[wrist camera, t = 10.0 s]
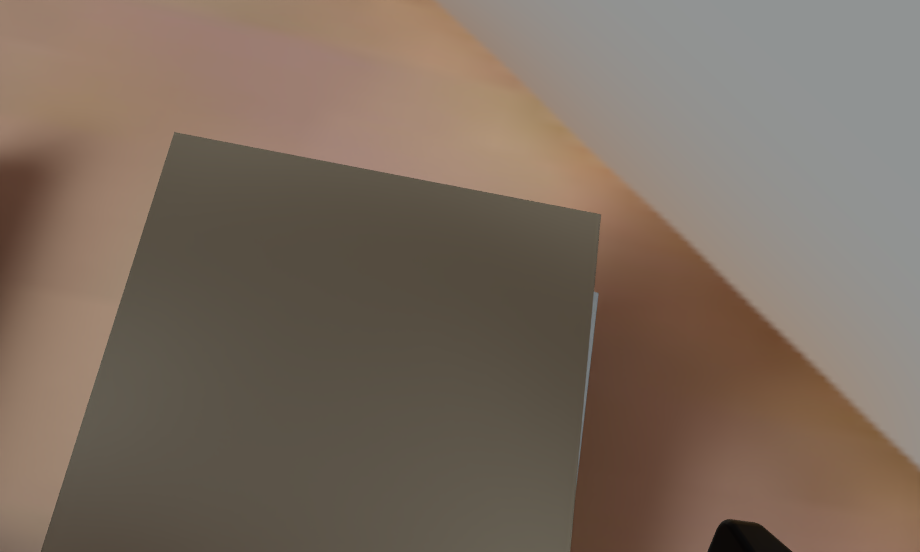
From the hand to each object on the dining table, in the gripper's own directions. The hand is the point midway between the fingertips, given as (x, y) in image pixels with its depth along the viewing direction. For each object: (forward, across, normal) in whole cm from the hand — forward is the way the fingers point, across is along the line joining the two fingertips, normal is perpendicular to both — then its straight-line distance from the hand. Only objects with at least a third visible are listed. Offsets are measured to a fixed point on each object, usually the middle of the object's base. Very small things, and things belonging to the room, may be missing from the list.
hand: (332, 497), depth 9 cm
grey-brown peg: (+8, 0, +7) cm, 10 cm away
